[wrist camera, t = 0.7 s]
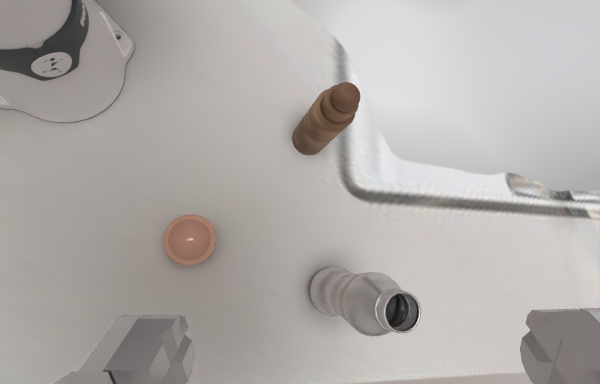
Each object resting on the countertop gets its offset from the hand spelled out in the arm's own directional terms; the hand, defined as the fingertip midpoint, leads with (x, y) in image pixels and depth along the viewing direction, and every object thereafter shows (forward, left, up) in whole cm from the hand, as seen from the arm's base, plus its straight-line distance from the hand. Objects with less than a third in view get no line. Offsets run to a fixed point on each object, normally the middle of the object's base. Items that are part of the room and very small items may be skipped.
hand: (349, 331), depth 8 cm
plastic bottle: (+10, +9, -40) cm, 43 cm away
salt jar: (-6, -3, -40) cm, 41 cm away
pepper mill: (-10, +19, -40) cm, 46 cm away
